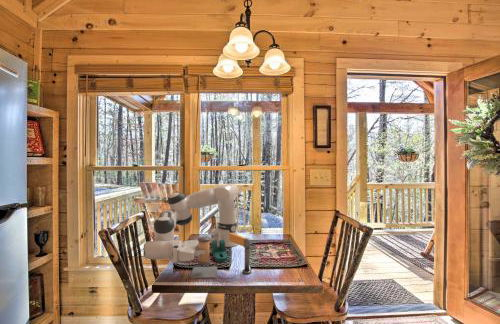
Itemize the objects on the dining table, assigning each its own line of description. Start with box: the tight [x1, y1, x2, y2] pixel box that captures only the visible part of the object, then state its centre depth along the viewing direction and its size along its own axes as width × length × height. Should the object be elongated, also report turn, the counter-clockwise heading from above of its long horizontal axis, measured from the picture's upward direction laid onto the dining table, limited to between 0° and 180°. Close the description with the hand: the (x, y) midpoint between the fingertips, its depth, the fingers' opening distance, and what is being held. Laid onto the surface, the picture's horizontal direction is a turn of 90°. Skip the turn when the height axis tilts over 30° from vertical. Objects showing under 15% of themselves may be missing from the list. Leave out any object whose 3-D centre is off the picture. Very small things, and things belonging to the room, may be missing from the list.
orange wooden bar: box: [229, 233, 251, 249], centre depth 144 cm, size 16×3×4 cm, turn 40°
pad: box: [189, 266, 218, 280], centre depth 139 cm, size 12×12×1 cm
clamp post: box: [241, 247, 252, 275], centre depth 140 cm, size 4×4×12 cm
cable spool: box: [197, 236, 211, 266], centre depth 138 cm, size 6×6×12 cm
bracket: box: [211, 240, 229, 263], centre depth 161 cm, size 18×7×8 cm, turn 16°
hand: (205, 249), depth 138 cm, fingers closed on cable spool, 5 cm apart
